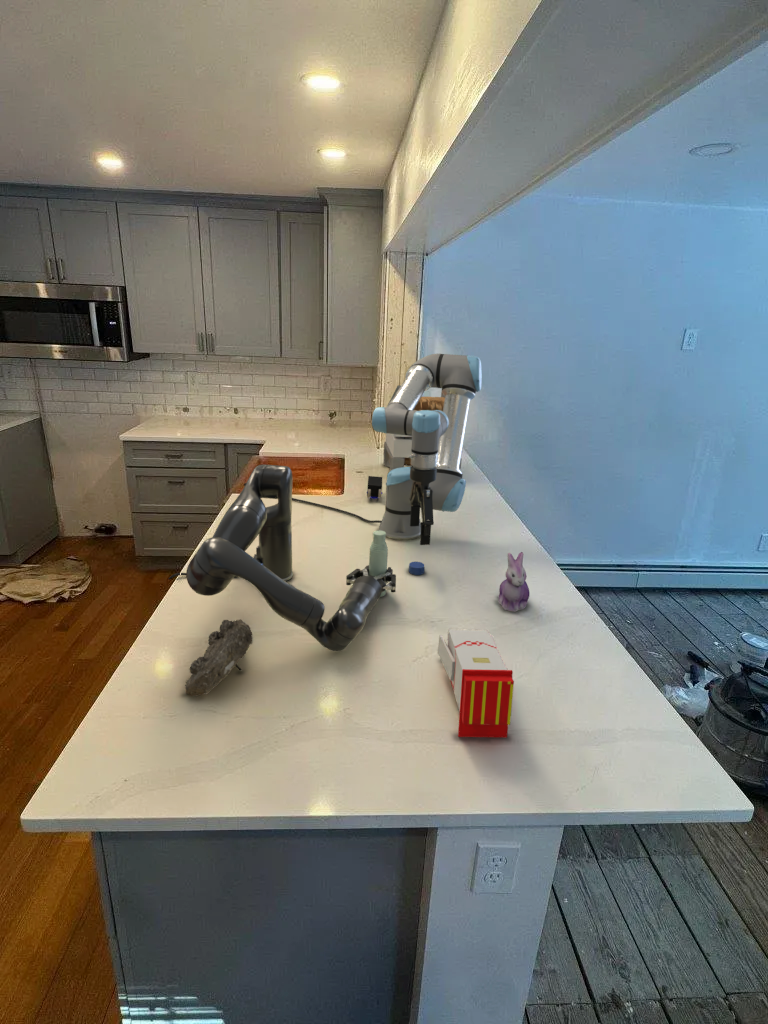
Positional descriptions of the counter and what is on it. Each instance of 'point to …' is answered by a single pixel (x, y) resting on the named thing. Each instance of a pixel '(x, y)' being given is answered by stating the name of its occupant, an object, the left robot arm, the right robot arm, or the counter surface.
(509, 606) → the figurine
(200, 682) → the fossil
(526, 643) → the counter surface
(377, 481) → the figurine character
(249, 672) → the counter surface
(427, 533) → the right robot arm
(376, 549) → the bottle
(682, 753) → the counter surface
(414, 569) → the cap
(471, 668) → the toy
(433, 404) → the white crate
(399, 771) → the counter surface
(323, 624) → the left robot arm
